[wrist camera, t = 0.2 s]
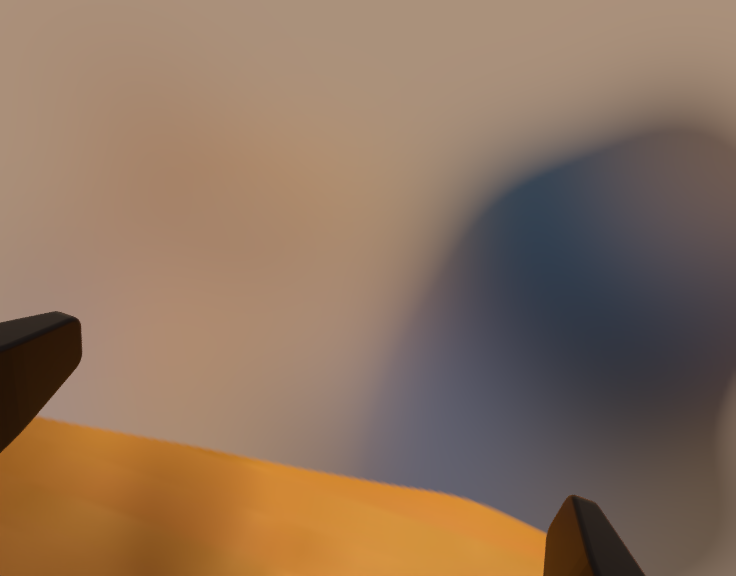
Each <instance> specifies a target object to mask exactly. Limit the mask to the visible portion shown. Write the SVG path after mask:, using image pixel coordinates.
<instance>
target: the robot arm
mask: <svg viewBox="0 0 736 576" xmlns="http://www.w3.org/2000/svg"><path fill="white" fill-rule="evenodd" d="M81 357H82V337H81V323H80V321H79V320H78V319H77V318H76V317H73V316H71V315H68V314H65V313H62V312H57V311H55V312H49V313H44V314H40V315H35V316H30V317H25V318H20V319H15V320H11V321H6V322H1V323H0V453H1V452H2V451H3V450H4V449H5V448H6V447H7V446H8V445H9V444H10V443H11V442H12V441H13V440H14V439H15V438H16V437H17V436H18V435H19V434H20V433H21V432H22V431H23V430H24V429H25V427H26V426H27V425H28V424H29V423H30V422H31V421H32V420H33V418H34V417H35V416H36V415H37V414H38V413H39V411H40V410H41V409H42V408H43V407H44V405H45V404H46V403H47V402H48V401H49V400H50V398H51V397H52V396H53V395H54V394H55V393H56V391H57V390H58V389H59V388H60V387H61V385H62V384H63V383H64V382H65V381H66V380H67V378H68V377H69V376H70V375H71V374H72V372H73V371H74V370H75V369H76V368H77V366H78V364H79V363H80V360H81ZM543 576H646V575H645V574H644V572H643V571H642V569H641V568H640V566H639V565H638V563H637V562H636V560H635V559H634V557H633V556H632V555H631V553H630V551H629V550H628V549H627V547H626V546H625V544H624V543H623V541H622V540H621V538H620V537H619V535H618V534H617V532H616V531H615V529H614V528H613V526H612V525H611V524H610V522H609V520H608V519H607V517H606V516H605V514H604V513H603V512H602V510H601V509H600V507H599V506H598V505H597V504H596V503H595V502H593V501H591V500H588V499H585V498H583V497H580V496H577V495H569V496H568V497H567V498H566V500H565V501H564V503H563V504H562V506H561V508H560V509H559V511H558V513H557V514H556V516H555V518H554V520H553V521H552V523H551V525H550V527H549V529H548V532H547V537H546V547H545V560H544V574H543Z"/></svg>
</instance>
